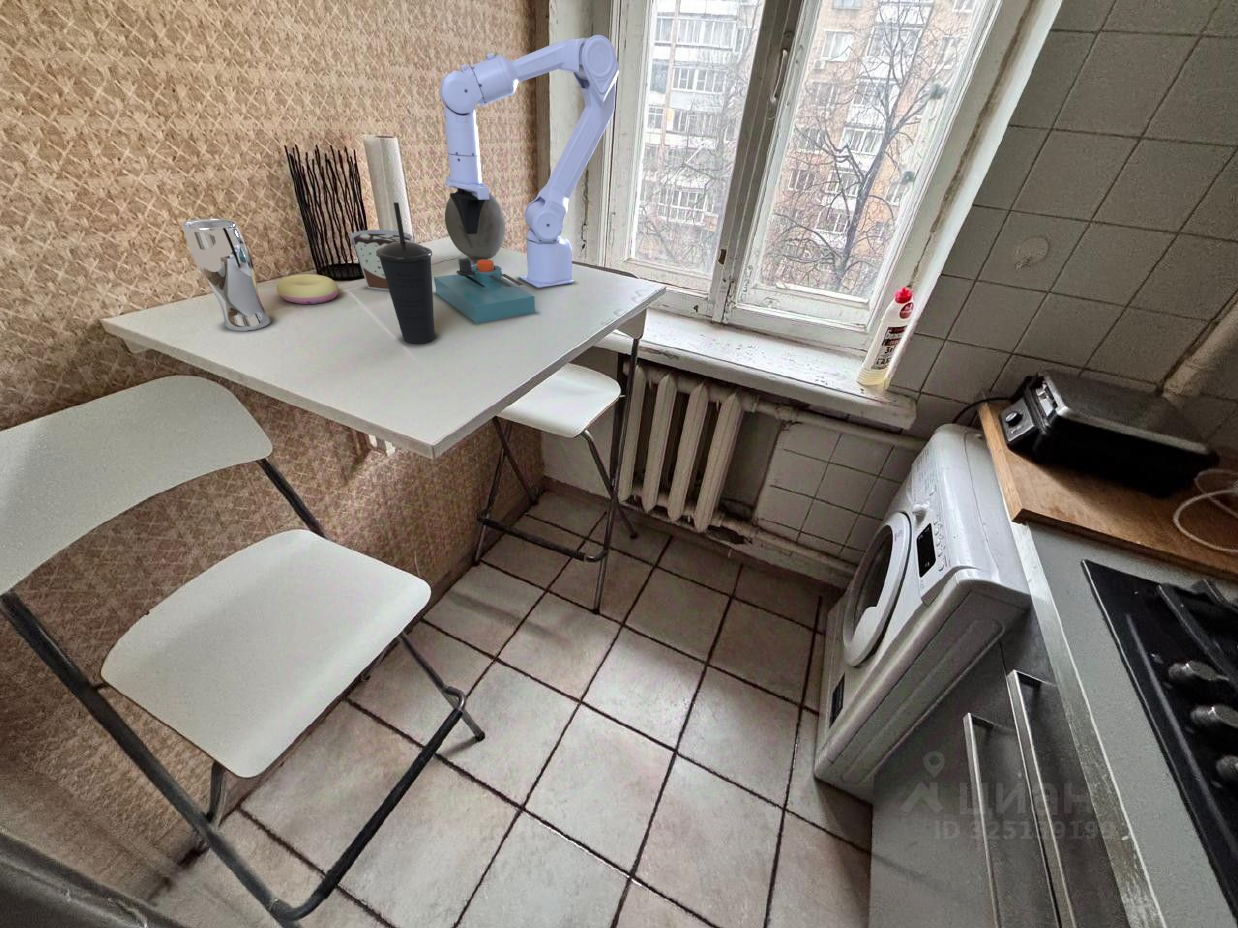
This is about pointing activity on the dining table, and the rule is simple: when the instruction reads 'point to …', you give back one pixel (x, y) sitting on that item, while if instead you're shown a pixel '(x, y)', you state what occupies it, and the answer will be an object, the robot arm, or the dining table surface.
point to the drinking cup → (410, 285)
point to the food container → (374, 253)
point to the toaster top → (497, 280)
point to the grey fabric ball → (488, 230)
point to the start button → (485, 265)
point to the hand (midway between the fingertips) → (471, 233)
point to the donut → (307, 288)
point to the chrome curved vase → (227, 271)
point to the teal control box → (484, 296)
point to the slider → (465, 267)
